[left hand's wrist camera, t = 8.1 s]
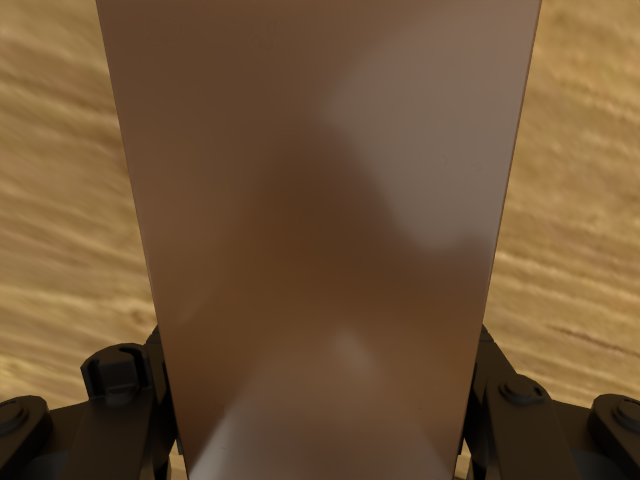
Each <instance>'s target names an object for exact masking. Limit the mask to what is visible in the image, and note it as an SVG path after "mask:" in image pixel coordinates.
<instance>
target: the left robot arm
mask: <svg viewBox="0 0 640 480" xmlns="http://www.w3.org/2000/svg"><path fill="white" fill-rule="evenodd" d="M80 369H81V372H82V376H83V379H84V383H85V386H86V390H87V393H88V397H89V400H88V401H86V402H83V403H79V404H75V405H71V406H67V407H62V408H58V409H54V410H49V409H48V406H47V403H46V401H45V400H44V399H42V398H41V397H39V396H32V395H28V396H21V397H16V398H13V399H10V400H7V401H4V402H1V403H0V480H171V471H172V470H171V464H170V458H169V454H170V451H171V449H172V447H173V444H174V442H175V439H176V442H177V447H178V453H179V455H183V452H182V447H181V442H180V437H179V431H178V426H177V421H176V416H175V411H174V405H173V400H172V395H171V390H170V384H169V379H168V374H167V369H166V364H165V358H164V353H163V348H162V343H161V338H160V332H159V327H158V324H157V326H156V327H155V329H154V330H153V332H152V334H151V335H150V336H149V338H148V339H147V341H146V344H144V345H140V344H135V343H121V344H117V345H113V346H109V347H107V348H104V349H102V350H100V351H98V352H96V353H95V354H93V355H92V356H90V357H89V358H88V359H86V361H85V362H84V363H83V365H82V366H81V367H80ZM464 438H465V441H466V443H467V445H468V448H469V450H470V453H471V458H470V463H469V468H468V473H467V478H466V480H640V401H638V400H635V399H633V398H629V397H627V396H624V395H617V394H604V395H599V396H598V397H597V398H596V399H594V401H593V404H592V407H591V409H589V408H584V407H580V406H576V405H571V404H567V403H563V402H559V401H556V400H552V399H551V397H550V396H549V394H548V393H547V391H546V390H545V389H544V388H543V387H542V386H541V385H539V384H538V383H537V382H536V381H534V380H532V379H530V378H528V377H526V376H524V375H520V374H517V373H516V372H515V370H514V369H513V367H512V366H511V364H510V363H509V361H508V360H507V358H506V357H505V356H504V354H503V353H502V351H501V350H500V348H499V347H498V345H497V344H496V342H494V340H493V338H492V337H491V335H490V334H489V333H488V331H487V329H486V328H485V326H484V325H483V323H482V327H481V333H480V338H479V344H478V349H477V355H476V360H475V365H474V371H473V376H472V382H471V387H470V392H469V398H468V403H467V409H466V414H465V419H464V425H463V430H462V436H461V441H460V446H459V452H458V455H461V451H462V446H463V440H464ZM453 480H459V479H455V478H454V479H453Z"/></svg>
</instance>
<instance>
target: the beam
mask: <svg viewBox="0 0 640 480" xmlns="http://www.w3.org/2000/svg"><path fill="white" fill-rule="evenodd" d="M541 3H542V0H96V4H97V10H98V15H99V20H100V25H101V30H102V36H103V41H104V46H105V51H106V56H107V62H108V67H109V72H110V77H111V82H112V88H113V93H114V98H115V103H116V109H117V114H118V119H119V124H120V129H121V135H122V140H123V145H124V150H125V155H126V161H127V166H128V171H129V176H130V181H131V187H132V192H133V197H134V202H135V207H136V213H137V218H138V223H139V228H140V233H141V239H142V244H143V249H144V254H145V260H146V265H147V270H148V275H149V280H150V286H151V291H152V296H153V301H154V306H155V312H156V317H157V322H158V327H159V332H160V338H161V343H162V348H163V353H164V358H165V364H166V369H167V374H168V379H169V384H170V390H171V395H172V400H173V405H174V411H175V416H176V421H177V426H178V431H179V437H180V442H181V447H182V452H183V457H184V463H185V468H186V473H187V478H188V480H453V479H454V473H455V468H456V463H457V457H458V452H459V446H460V441H461V436H462V430H463V425H464V419H465V414H466V409H467V403H468V398H469V392H470V387H471V382H472V376H473V371H474V365H475V360H476V355H477V349H478V344H479V338H480V333H481V327H482V322H483V317H484V311H485V306H486V300H487V295H488V290H489V284H490V279H491V273H492V268H493V263H494V257H495V252H496V246H497V241H498V236H499V230H500V225H501V219H502V214H503V209H504V203H505V198H506V192H507V187H508V182H509V176H510V171H511V165H512V160H513V155H514V149H515V144H516V138H517V133H518V128H519V122H520V117H521V111H522V106H523V101H524V95H525V90H526V84H527V79H528V74H529V68H530V63H531V57H532V52H533V47H534V41H535V36H536V30H537V25H538V19H539V14H540V9H541Z"/></svg>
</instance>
